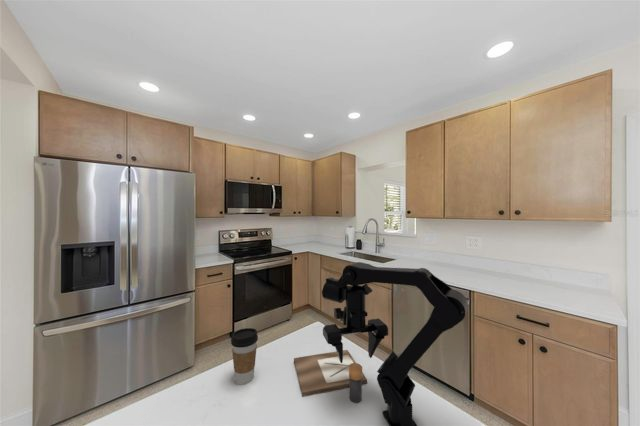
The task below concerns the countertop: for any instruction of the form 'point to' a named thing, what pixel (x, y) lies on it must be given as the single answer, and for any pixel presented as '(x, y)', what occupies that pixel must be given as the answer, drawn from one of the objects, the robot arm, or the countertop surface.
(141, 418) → the countertop surface
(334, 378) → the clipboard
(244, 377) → the coffee cup
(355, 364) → the black and orange cylinder
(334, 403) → the countertop surface
